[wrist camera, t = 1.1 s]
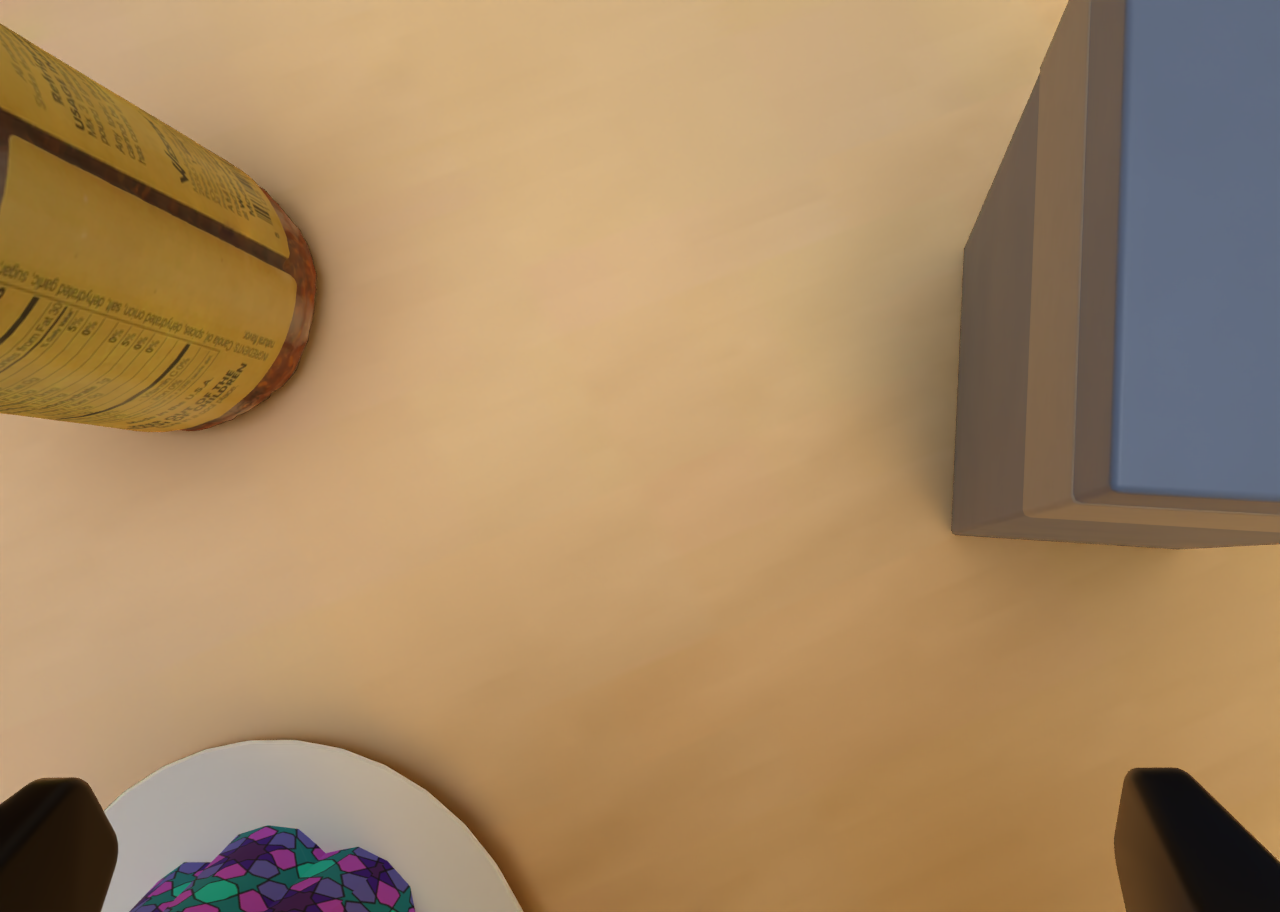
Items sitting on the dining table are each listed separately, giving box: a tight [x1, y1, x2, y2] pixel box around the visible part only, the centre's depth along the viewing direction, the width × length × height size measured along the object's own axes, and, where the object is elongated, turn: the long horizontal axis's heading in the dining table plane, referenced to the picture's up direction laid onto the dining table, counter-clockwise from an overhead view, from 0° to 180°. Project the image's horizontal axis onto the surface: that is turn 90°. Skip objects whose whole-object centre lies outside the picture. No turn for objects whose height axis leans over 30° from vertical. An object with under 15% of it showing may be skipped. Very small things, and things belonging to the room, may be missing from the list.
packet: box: [951, 0, 1280, 549], centre depth 16 cm, size 6×4×13 cm
